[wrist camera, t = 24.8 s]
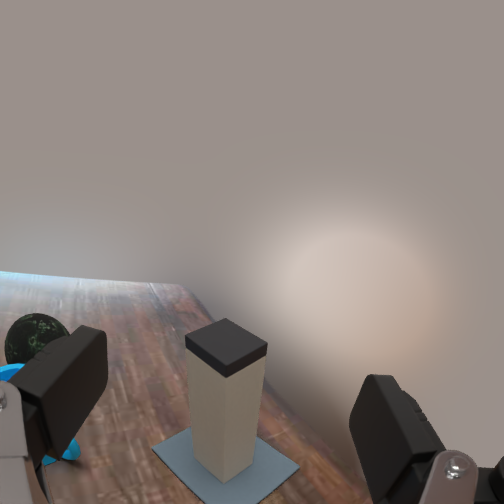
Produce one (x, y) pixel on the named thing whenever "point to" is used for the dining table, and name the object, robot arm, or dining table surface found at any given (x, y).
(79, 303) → the dining table surface
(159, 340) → the dining table surface
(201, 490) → the mat
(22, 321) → the decorative stone
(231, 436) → the black-capped tall post
